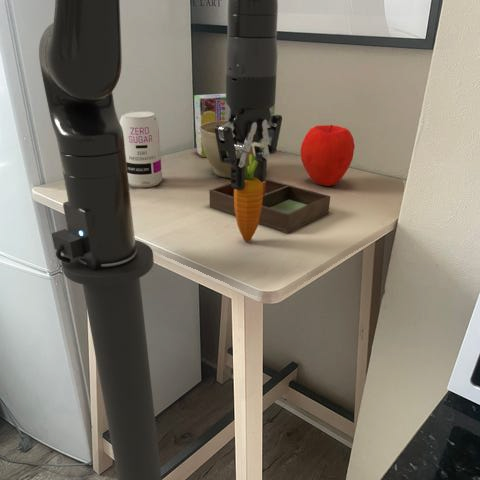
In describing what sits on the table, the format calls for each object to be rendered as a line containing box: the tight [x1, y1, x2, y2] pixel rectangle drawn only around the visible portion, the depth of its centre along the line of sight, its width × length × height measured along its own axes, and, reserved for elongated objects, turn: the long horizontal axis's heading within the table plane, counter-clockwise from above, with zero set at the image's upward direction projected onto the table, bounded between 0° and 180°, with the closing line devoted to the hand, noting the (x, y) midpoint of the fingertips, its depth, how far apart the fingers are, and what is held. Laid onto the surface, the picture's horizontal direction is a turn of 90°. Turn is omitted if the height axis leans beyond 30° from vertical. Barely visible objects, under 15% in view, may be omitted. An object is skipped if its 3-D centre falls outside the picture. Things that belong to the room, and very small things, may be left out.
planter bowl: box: [200, 120, 260, 179], centre depth 119 cm, size 16×16×11 cm
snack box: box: [193, 93, 276, 158], centre depth 135 cm, size 21×6×15 cm, turn 111°
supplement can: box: [119, 110, 163, 189], centre depth 111 cm, size 8×8×15 cm
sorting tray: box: [208, 178, 331, 234], centre depth 101 cm, size 14×20×4 cm
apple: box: [299, 124, 355, 187], centre depth 112 cm, size 12×12×13 cm
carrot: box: [234, 154, 263, 243], centre depth 84 cm, size 5×5×15 cm
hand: (248, 184), depth 83 cm, fingers closed on carrot, 4 cm apart
